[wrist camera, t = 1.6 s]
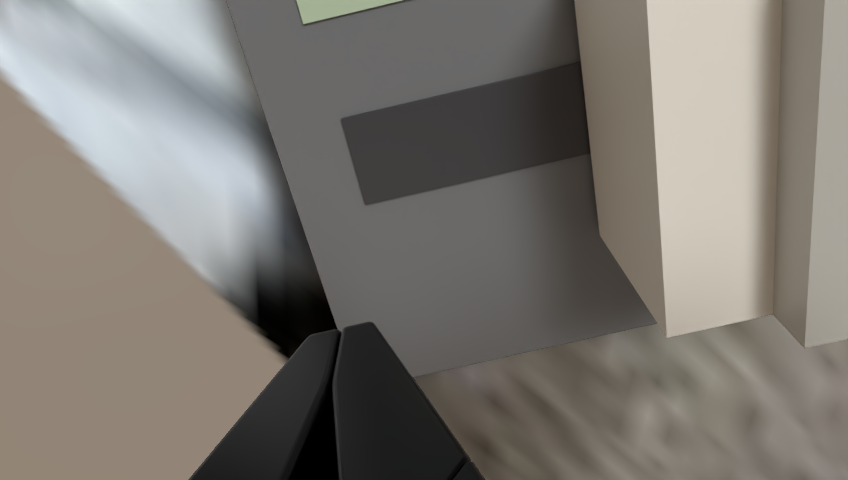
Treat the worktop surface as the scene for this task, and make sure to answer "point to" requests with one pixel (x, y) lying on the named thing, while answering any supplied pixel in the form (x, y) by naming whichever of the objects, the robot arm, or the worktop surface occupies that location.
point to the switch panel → (441, 170)
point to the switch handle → (723, 157)
